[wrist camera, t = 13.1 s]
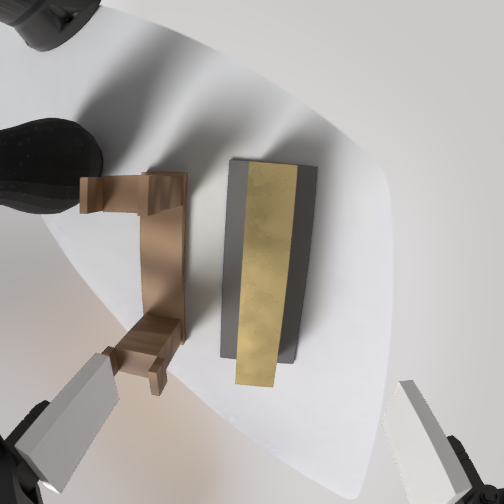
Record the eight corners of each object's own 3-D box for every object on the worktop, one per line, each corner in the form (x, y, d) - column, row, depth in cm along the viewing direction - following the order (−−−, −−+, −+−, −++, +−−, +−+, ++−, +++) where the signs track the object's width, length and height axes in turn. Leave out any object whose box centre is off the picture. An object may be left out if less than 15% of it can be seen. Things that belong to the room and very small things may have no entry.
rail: (253, 166, 28) (249, 161, 23) (292, 169, 28) (297, 165, 23) (240, 356, 33) (235, 384, 28) (273, 359, 33) (273, 387, 28)
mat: (230, 160, 29) (229, 160, 28) (316, 167, 28) (317, 167, 28) (220, 355, 34) (220, 357, 34) (293, 361, 34) (293, 363, 33)
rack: (140, 172, 30) (80, 170, 18) (192, 173, 29) (149, 167, 18) (144, 334, 34) (103, 385, 23) (190, 341, 34) (160, 400, 23)
